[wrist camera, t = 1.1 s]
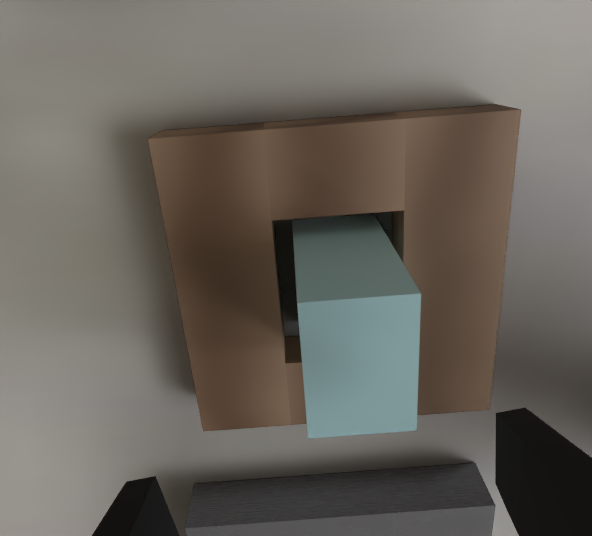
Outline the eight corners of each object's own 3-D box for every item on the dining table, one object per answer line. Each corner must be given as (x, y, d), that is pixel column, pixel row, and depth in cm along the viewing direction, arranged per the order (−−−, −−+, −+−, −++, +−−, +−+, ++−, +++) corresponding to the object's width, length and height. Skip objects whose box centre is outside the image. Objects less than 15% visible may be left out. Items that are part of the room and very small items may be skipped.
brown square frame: (495, 104, 17) (521, 109, 16) (472, 380, 22) (489, 409, 20) (162, 130, 17) (147, 138, 16) (209, 400, 22) (203, 431, 20)
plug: (374, 214, 19) (421, 293, 12) (375, 315, 21) (416, 430, 14) (292, 220, 19) (297, 302, 13) (299, 320, 21) (307, 438, 14)
